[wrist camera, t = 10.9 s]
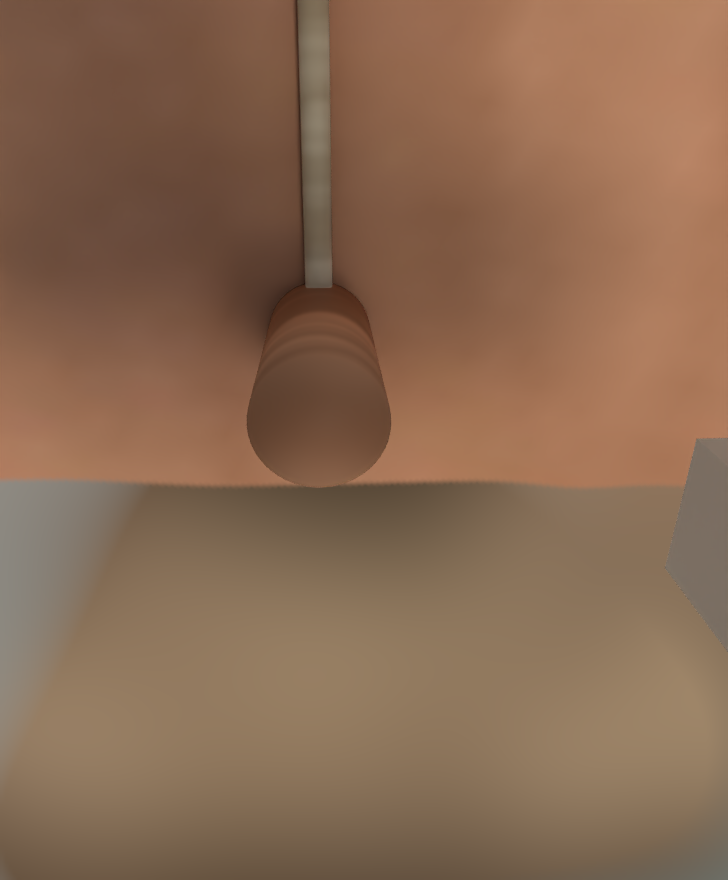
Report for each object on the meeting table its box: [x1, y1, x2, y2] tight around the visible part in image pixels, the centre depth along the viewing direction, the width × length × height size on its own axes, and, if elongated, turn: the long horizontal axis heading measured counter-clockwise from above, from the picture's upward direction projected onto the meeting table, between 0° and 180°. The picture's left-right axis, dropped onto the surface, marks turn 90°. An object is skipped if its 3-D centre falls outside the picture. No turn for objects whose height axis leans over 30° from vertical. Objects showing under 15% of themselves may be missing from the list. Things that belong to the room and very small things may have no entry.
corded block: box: [247, 0, 391, 487], centre depth 16 cm, size 20×6×8 cm, turn 0°
